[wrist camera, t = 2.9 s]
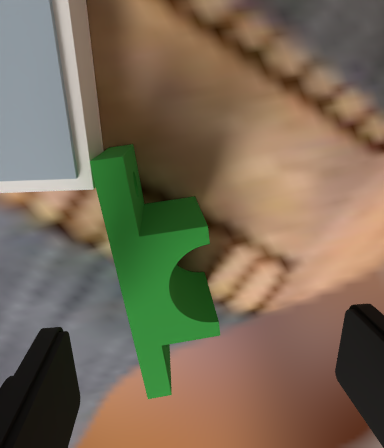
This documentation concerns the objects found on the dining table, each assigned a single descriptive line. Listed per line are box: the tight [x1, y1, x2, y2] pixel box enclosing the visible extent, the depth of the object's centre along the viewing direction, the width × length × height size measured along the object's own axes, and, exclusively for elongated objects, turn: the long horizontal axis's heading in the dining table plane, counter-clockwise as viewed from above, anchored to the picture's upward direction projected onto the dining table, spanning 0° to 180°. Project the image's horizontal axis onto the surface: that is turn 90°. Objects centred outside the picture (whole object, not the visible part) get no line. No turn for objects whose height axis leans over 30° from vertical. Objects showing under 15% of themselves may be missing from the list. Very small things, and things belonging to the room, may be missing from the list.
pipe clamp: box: [90, 144, 220, 399], centre depth 14 cm, size 11×4×5 cm, turn 7°
